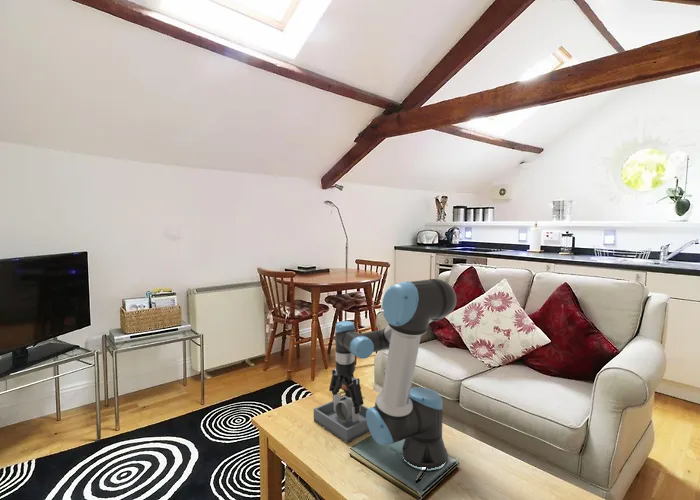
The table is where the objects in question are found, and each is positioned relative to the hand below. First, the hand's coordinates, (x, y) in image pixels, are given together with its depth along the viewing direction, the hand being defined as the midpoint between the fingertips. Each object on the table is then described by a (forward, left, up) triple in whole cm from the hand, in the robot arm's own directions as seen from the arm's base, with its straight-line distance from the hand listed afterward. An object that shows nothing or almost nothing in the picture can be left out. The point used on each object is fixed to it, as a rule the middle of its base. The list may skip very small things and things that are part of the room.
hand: (345, 415), depth 152 cm
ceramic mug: (0, 0, -1) cm, 1 cm away
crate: (0, 0, -3) cm, 3 cm away
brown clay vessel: (+17, -16, -4) cm, 23 cm away
